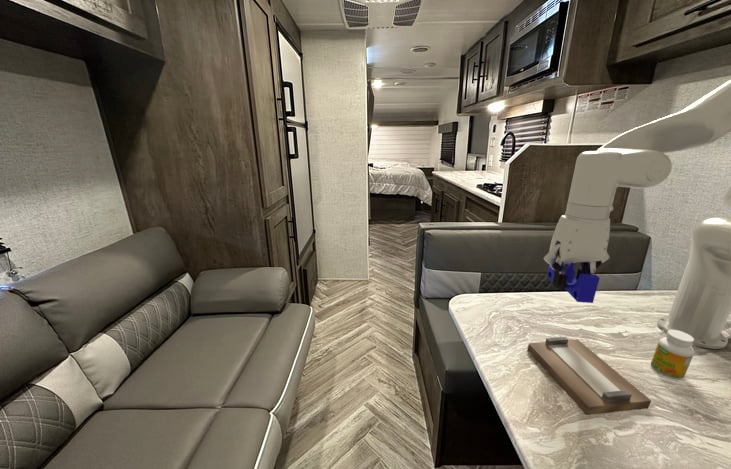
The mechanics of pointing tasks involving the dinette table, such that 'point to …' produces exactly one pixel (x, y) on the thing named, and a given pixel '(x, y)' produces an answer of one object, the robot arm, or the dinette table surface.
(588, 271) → the robot arm
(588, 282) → the blue curved piece
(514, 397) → the dinette table surface
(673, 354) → the supplement bottle
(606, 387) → the rail board
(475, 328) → the dinette table surface
